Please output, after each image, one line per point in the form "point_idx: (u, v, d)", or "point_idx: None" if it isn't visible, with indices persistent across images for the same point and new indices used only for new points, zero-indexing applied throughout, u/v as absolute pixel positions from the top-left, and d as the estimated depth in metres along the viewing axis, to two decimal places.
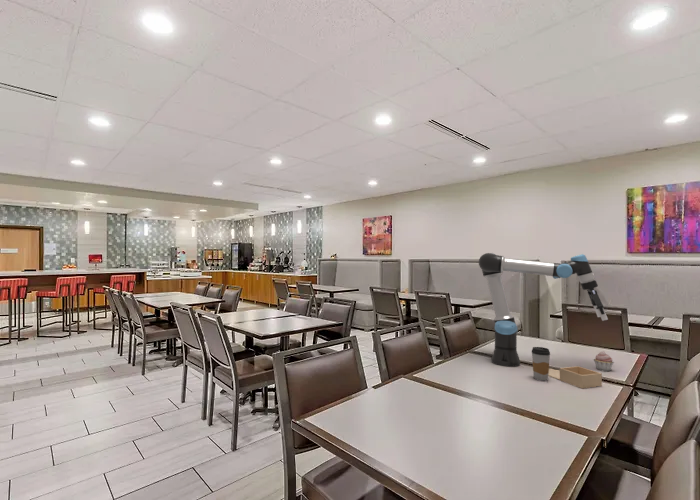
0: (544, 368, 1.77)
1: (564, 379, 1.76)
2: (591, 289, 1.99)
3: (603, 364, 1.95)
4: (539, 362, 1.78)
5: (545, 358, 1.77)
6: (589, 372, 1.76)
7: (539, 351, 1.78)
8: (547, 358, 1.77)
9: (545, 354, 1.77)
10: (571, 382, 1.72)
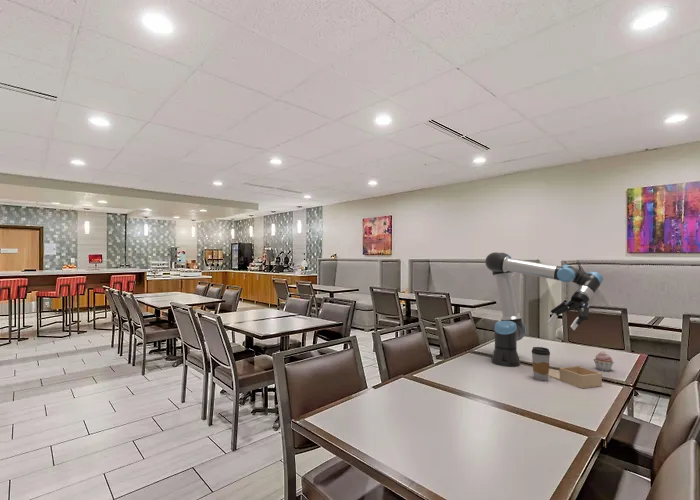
0: (544, 368, 1.77)
1: (564, 379, 1.76)
2: (584, 302, 1.86)
3: (603, 364, 1.95)
4: (539, 362, 1.78)
5: (545, 358, 1.77)
6: (589, 372, 1.76)
7: (539, 351, 1.78)
8: (547, 358, 1.77)
9: (545, 354, 1.77)
10: (571, 382, 1.72)
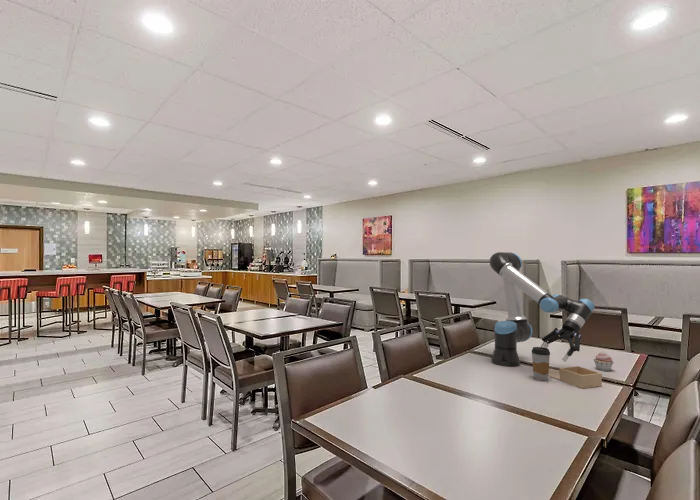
0: (544, 368, 1.77)
1: (564, 379, 1.76)
2: (575, 332, 1.81)
3: (603, 364, 1.95)
4: (539, 362, 1.78)
5: (545, 358, 1.77)
6: (589, 372, 1.76)
7: (539, 351, 1.78)
8: (547, 358, 1.77)
9: (545, 354, 1.77)
10: (571, 382, 1.72)
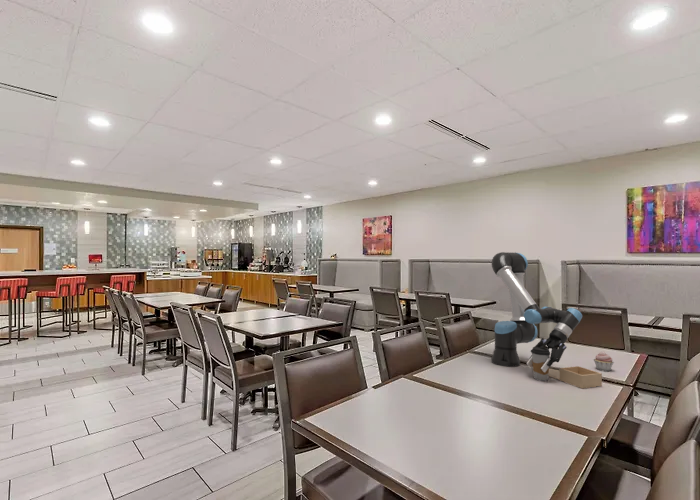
0: None
1: (564, 379, 1.76)
2: (561, 341, 1.80)
3: (603, 364, 1.95)
4: (539, 362, 1.78)
5: (545, 358, 1.77)
6: (589, 372, 1.76)
7: (539, 351, 1.78)
8: (547, 358, 1.77)
9: (545, 354, 1.77)
10: (571, 382, 1.72)
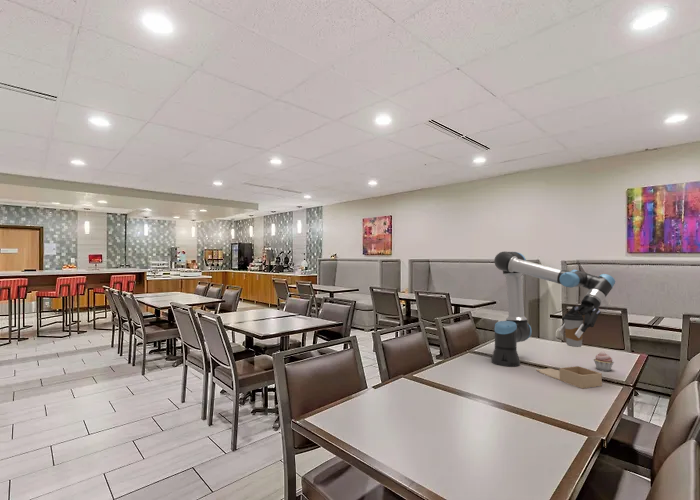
0: None
1: (564, 379, 1.76)
2: (595, 307, 1.75)
3: (603, 364, 1.95)
4: (573, 328, 1.73)
5: (578, 323, 1.72)
6: (589, 372, 1.76)
7: (572, 317, 1.73)
8: (581, 323, 1.72)
9: (578, 319, 1.72)
10: (571, 382, 1.72)
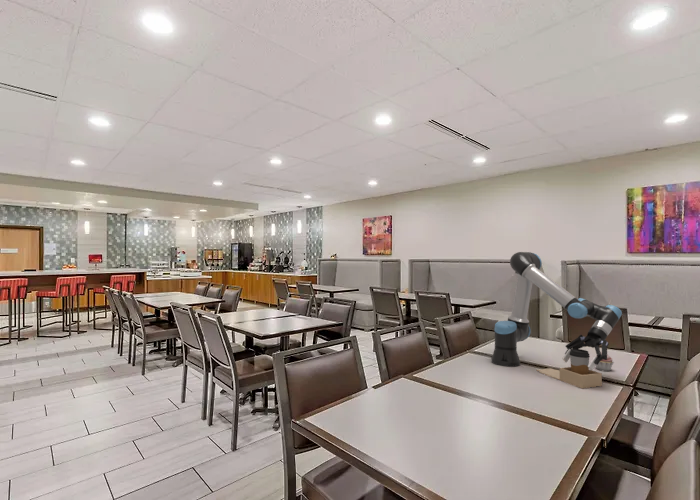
0: (584, 370, 1.72)
1: (564, 379, 1.76)
2: (601, 339, 1.75)
3: (603, 364, 1.95)
4: (579, 365, 1.72)
5: (585, 360, 1.71)
6: (589, 372, 1.76)
7: (578, 353, 1.72)
8: (587, 360, 1.72)
9: (585, 356, 1.71)
10: (571, 382, 1.72)
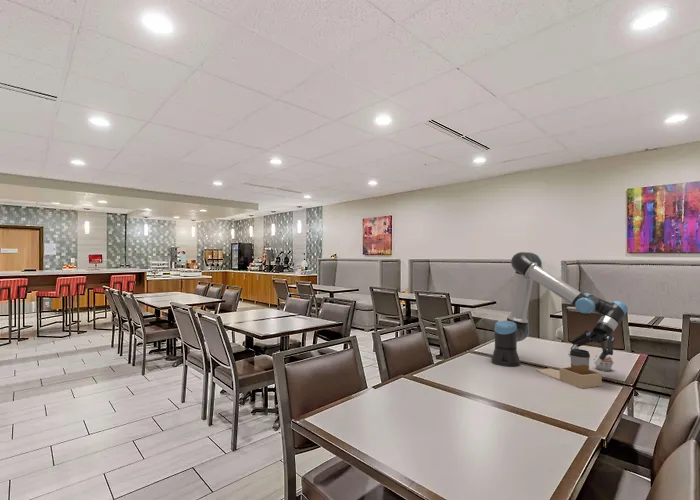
0: (584, 370, 1.72)
1: (564, 379, 1.76)
2: (607, 335, 1.75)
3: (603, 364, 1.95)
4: (579, 365, 1.72)
5: (585, 360, 1.71)
6: (589, 372, 1.76)
7: (579, 353, 1.72)
8: (587, 360, 1.72)
9: (585, 356, 1.71)
10: (571, 382, 1.72)
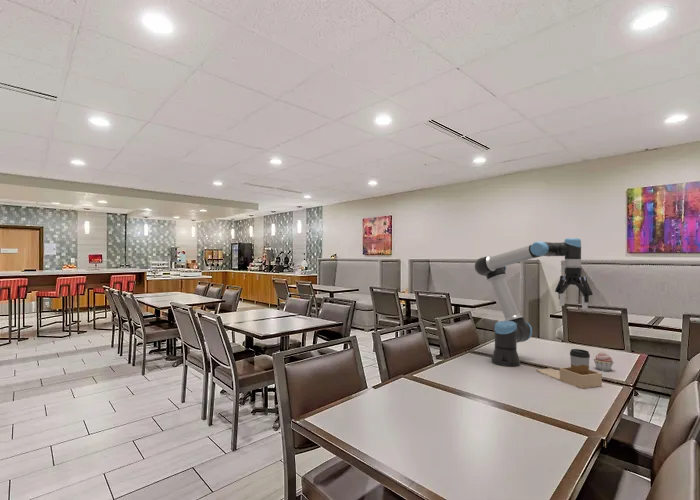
0: (584, 371, 1.71)
1: (564, 379, 1.76)
2: (578, 275, 1.89)
3: (603, 364, 1.95)
4: (579, 365, 1.72)
5: (585, 360, 1.71)
6: (589, 372, 1.76)
7: (579, 353, 1.72)
8: (587, 361, 1.72)
9: (585, 356, 1.71)
10: (571, 382, 1.72)
